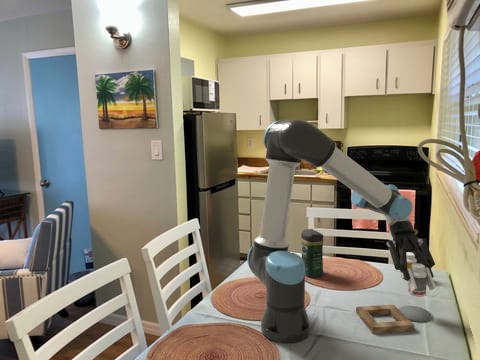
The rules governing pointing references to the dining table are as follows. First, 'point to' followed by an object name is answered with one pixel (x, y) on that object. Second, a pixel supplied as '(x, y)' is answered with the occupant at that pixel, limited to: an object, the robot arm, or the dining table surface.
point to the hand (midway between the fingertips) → (423, 288)
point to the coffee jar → (312, 252)
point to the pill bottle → (418, 280)
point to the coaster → (415, 313)
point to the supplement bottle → (409, 261)
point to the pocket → (384, 327)
